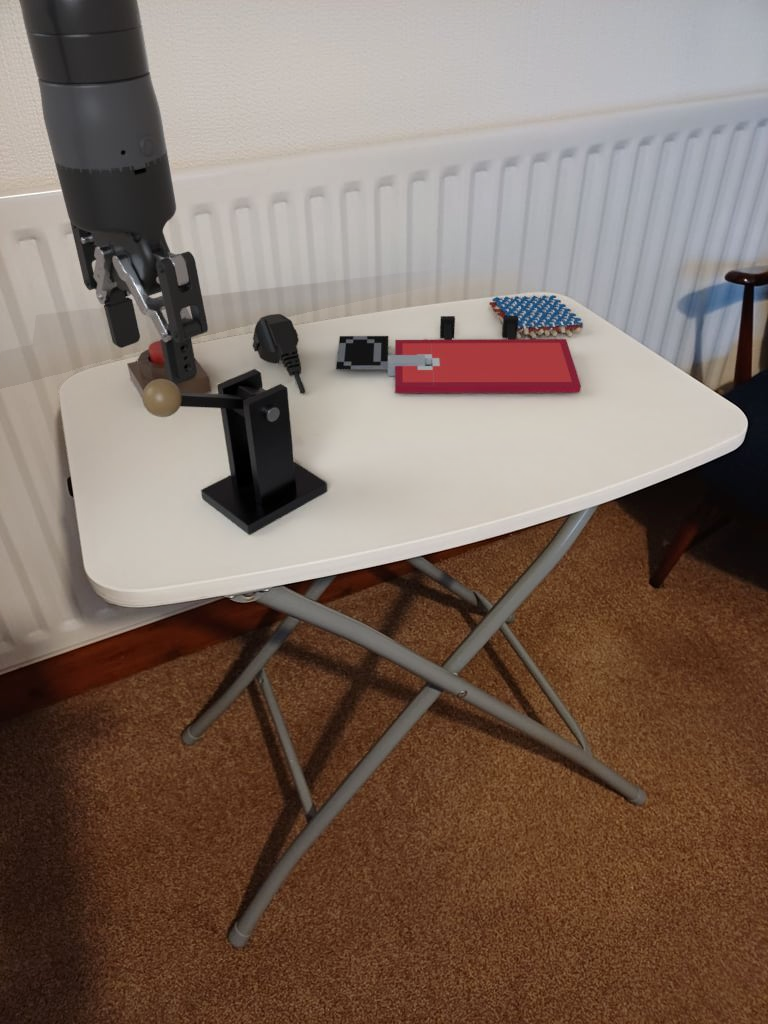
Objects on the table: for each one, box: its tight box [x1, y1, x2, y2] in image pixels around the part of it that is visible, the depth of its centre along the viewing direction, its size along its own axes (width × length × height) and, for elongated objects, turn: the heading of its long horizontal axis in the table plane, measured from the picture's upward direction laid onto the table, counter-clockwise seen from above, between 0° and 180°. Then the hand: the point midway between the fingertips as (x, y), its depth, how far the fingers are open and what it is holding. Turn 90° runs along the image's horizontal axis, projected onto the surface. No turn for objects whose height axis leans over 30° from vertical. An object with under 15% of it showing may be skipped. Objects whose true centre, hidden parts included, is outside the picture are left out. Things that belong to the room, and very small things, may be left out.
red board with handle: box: [335, 315, 582, 394], centre depth 101 cm, size 30×3×15 cm
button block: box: [126, 348, 212, 398], centre depth 97 cm, size 8×8×4 cm
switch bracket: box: [200, 368, 328, 536], centre depth 77 cm, size 10×8×13 cm
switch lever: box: [141, 379, 267, 418], centre depth 70 cm, size 13×3×3 cm, turn 133°
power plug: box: [252, 313, 307, 394], centre depth 100 cm, size 6×8×12 cm
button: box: [148, 340, 165, 364], centre depth 96 cm, size 3×3×2 cm
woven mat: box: [488, 294, 584, 339], centre depth 111 cm, size 10×11×2 cm
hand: (154, 361), depth 64 cm, fingers open, 8 cm apart
